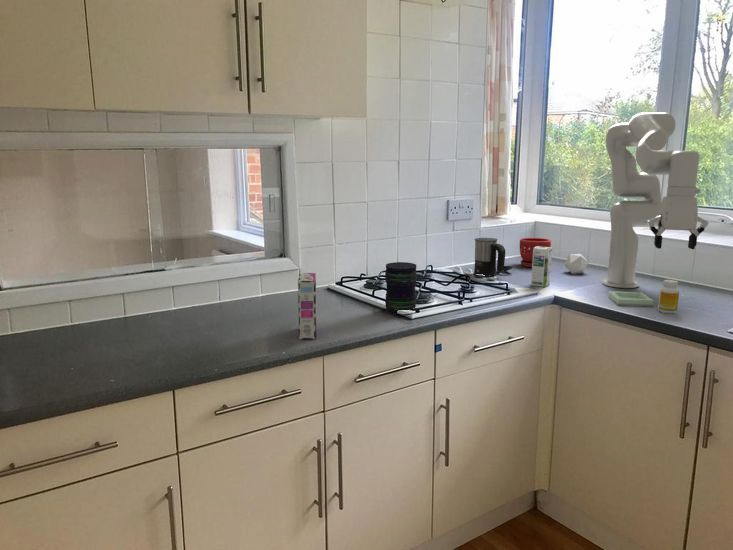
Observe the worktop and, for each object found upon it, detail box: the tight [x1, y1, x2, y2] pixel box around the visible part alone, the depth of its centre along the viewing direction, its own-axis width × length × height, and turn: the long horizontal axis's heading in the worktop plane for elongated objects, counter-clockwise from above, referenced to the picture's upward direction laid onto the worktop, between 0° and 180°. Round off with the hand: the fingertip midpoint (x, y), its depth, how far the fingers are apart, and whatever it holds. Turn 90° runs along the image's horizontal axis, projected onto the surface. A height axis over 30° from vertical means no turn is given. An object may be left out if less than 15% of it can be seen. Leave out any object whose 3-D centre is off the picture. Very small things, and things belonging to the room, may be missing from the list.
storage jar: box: [384, 261, 418, 316], centre depth 181 cm, size 10×10×15 cm
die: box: [564, 253, 589, 275], centre depth 237 cm, size 8×9×10 cm
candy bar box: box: [297, 272, 318, 341], centre depth 159 cm, size 11×5×16 cm, turn 5°
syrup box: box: [530, 246, 553, 288], centre depth 215 cm, size 6×6×14 cm
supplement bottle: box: [657, 279, 680, 314], centre depth 180 cm, size 5×5×10 cm
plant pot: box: [519, 237, 552, 268], centre depth 251 cm, size 13×13×12 cm
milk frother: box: [473, 237, 515, 277], centre depth 235 cm, size 14×16×15 cm
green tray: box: [607, 291, 654, 307], centre depth 193 cm, size 11×11×2 cm
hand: (674, 248), depth 177 cm, fingers open, 9 cm apart
